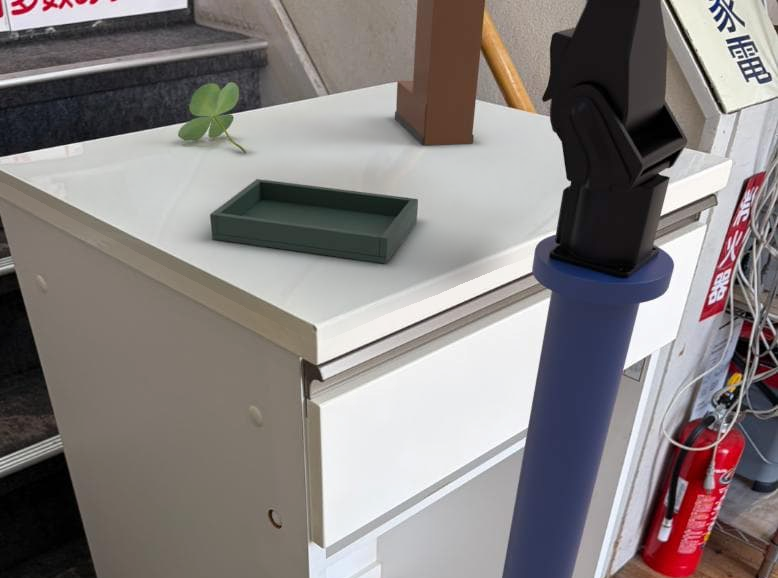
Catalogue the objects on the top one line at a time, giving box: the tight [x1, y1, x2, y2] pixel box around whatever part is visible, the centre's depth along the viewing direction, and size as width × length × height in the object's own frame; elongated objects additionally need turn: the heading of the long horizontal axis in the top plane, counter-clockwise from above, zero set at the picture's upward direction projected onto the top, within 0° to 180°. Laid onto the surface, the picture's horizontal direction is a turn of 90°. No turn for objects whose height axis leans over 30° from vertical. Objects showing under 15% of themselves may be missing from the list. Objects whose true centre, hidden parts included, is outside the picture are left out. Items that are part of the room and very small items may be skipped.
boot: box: [394, 0, 486, 146], centre depth 90 cm, size 11×6×14 cm, turn 14°
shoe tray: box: [209, 178, 419, 264], centre depth 69 cm, size 15×10×2 cm, turn 74°
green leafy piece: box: [177, 81, 247, 154], centre depth 86 cm, size 7×8×7 cm
